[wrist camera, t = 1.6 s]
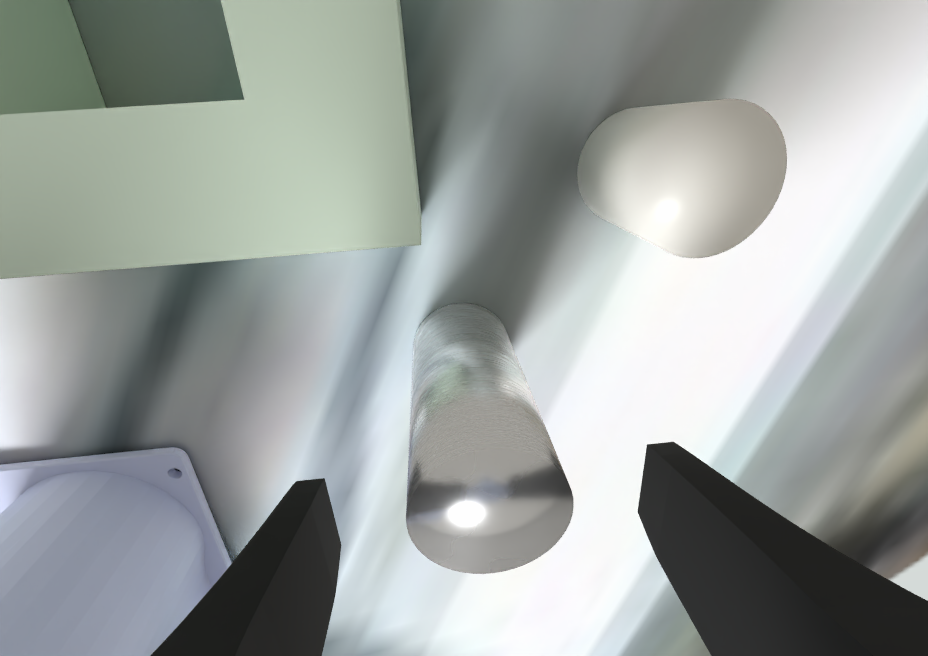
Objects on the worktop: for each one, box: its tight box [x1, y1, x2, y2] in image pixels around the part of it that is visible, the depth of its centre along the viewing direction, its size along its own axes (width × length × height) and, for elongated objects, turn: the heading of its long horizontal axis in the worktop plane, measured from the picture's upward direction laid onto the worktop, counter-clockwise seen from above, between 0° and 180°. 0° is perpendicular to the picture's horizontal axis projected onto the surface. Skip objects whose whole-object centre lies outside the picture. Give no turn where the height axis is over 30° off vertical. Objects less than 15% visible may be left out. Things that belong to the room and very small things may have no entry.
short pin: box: [577, 99, 787, 258], centre depth 13 cm, size 4×4×4 cm
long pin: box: [406, 303, 573, 574], centre depth 13 cm, size 4×4×8 cm
